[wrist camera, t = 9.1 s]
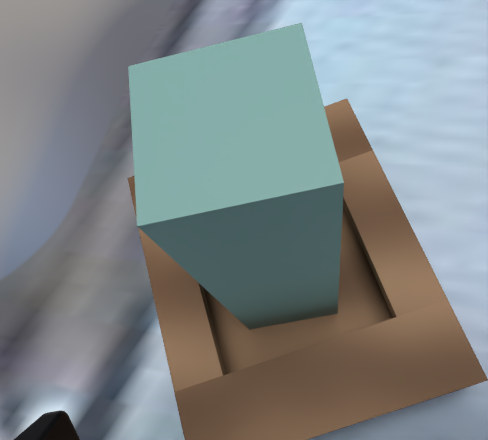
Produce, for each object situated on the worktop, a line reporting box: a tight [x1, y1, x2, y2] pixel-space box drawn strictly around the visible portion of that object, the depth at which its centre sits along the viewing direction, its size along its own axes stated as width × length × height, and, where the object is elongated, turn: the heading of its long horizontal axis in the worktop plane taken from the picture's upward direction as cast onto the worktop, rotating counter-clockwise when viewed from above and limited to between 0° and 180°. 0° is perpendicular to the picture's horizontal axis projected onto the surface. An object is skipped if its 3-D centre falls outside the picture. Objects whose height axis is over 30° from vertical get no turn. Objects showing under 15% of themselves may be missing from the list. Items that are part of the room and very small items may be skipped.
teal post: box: [129, 23, 344, 330], centre depth 15 cm, size 4×4×13 cm
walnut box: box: [128, 99, 488, 440], centre depth 20 cm, size 13×11×3 cm
